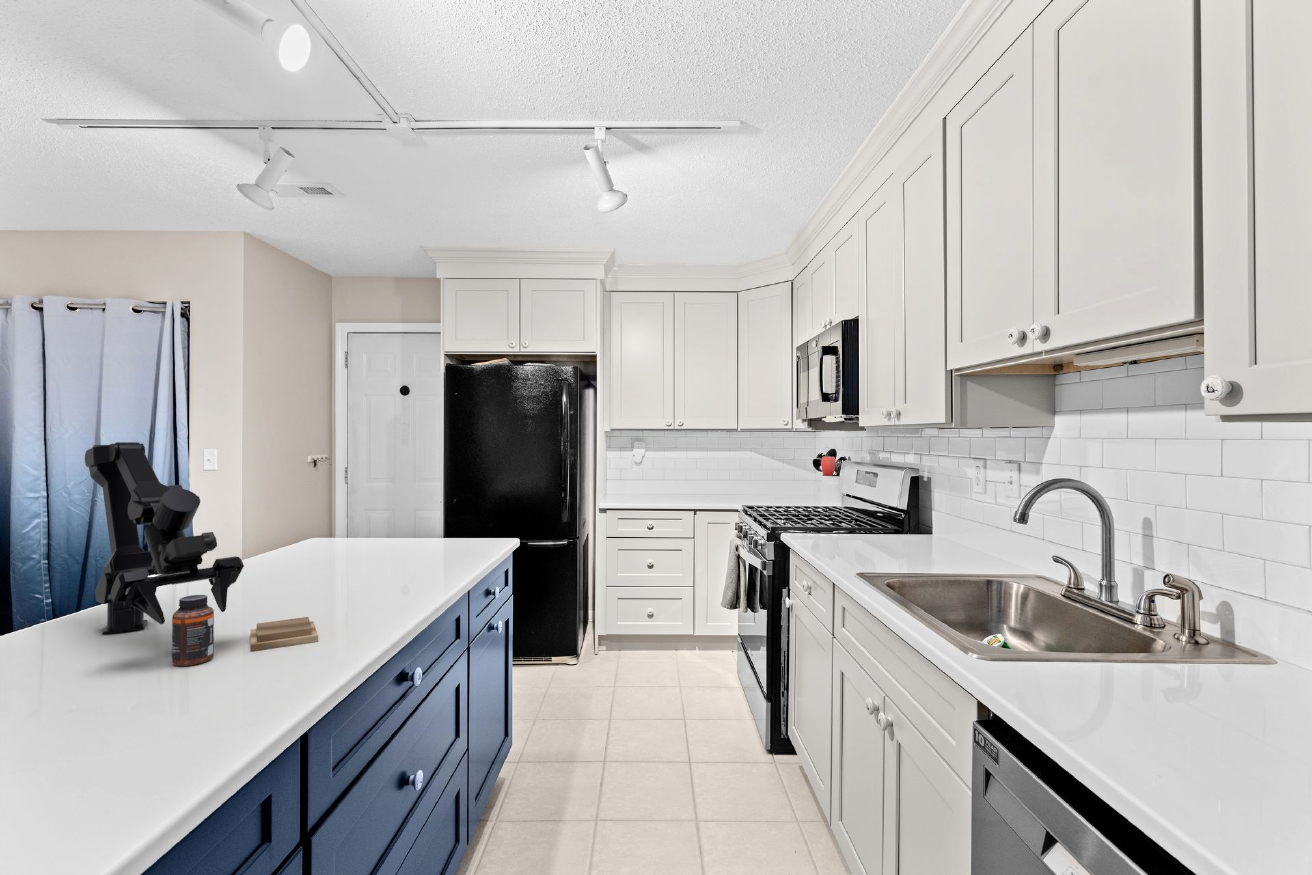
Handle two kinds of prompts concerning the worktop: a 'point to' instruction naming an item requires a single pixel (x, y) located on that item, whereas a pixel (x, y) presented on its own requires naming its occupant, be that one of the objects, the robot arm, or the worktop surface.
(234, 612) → the worktop surface
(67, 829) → the worktop surface
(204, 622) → the supplement bottle
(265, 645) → the wooden stand
